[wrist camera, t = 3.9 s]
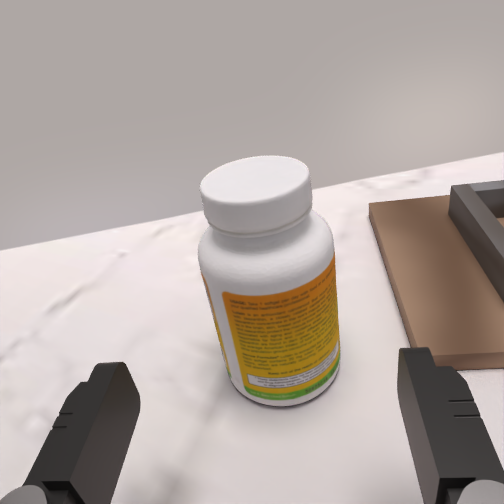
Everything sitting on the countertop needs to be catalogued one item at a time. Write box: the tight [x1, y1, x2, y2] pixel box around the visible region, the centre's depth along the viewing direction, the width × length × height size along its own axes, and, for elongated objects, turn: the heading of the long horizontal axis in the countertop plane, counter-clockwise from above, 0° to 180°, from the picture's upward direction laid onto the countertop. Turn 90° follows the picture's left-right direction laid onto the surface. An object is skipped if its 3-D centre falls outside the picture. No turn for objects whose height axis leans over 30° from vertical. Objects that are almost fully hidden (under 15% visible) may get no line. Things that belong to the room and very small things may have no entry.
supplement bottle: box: [198, 156, 340, 406], centre depth 18 cm, size 5×5×10 cm
